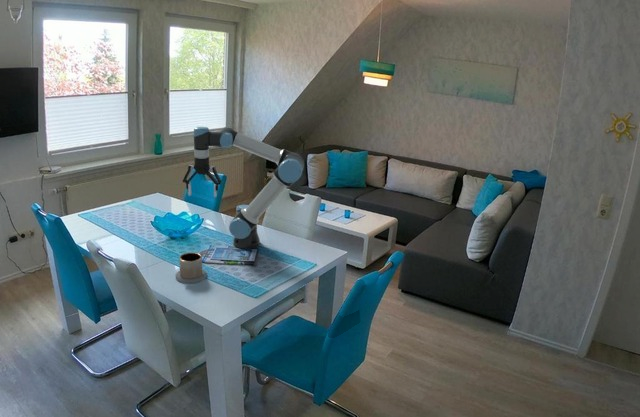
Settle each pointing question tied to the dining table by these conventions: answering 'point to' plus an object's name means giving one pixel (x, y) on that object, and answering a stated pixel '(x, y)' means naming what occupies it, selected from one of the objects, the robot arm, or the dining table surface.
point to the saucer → (190, 281)
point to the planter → (190, 265)
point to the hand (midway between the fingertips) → (202, 195)
